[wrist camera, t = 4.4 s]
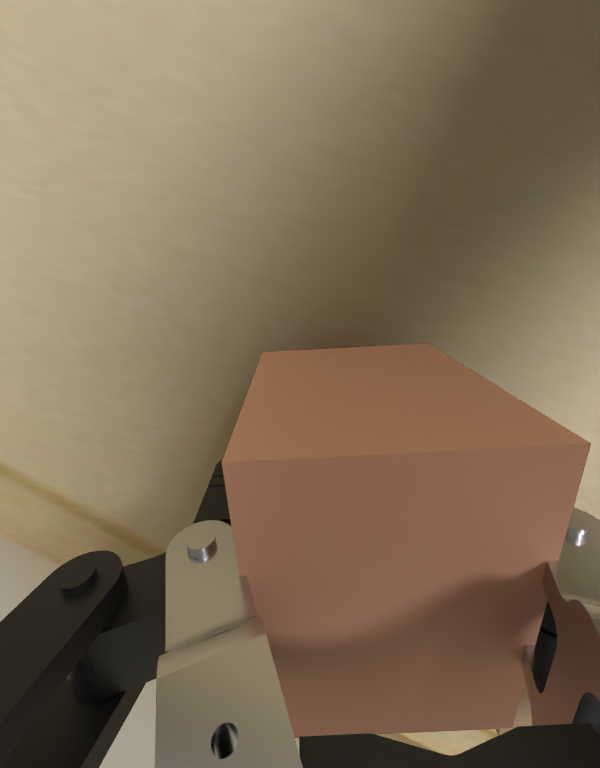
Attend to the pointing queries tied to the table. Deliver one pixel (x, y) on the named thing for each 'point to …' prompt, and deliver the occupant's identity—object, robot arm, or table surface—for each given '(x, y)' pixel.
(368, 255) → the table surface
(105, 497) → the table surface
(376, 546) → the brick terracotta
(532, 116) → the table surface
